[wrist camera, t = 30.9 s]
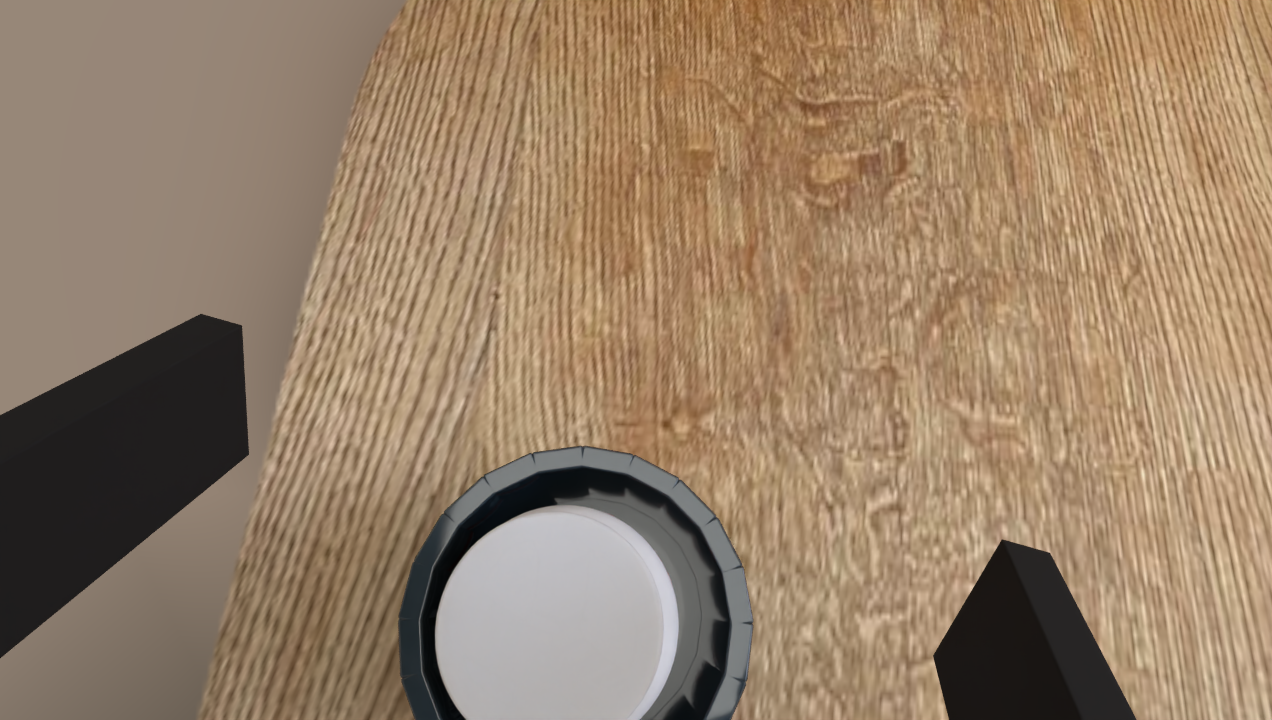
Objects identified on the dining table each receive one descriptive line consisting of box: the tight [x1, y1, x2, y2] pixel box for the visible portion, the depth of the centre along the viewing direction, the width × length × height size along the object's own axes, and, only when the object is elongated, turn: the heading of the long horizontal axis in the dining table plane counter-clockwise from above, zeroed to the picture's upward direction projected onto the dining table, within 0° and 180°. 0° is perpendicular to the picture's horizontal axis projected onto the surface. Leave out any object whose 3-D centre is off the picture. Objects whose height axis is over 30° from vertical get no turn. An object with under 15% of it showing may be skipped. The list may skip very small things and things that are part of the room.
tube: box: [398, 446, 753, 720], centre depth 21 cm, size 9×9×7 cm
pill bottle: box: [435, 505, 679, 720], centre depth 19 cm, size 6×6×10 cm
